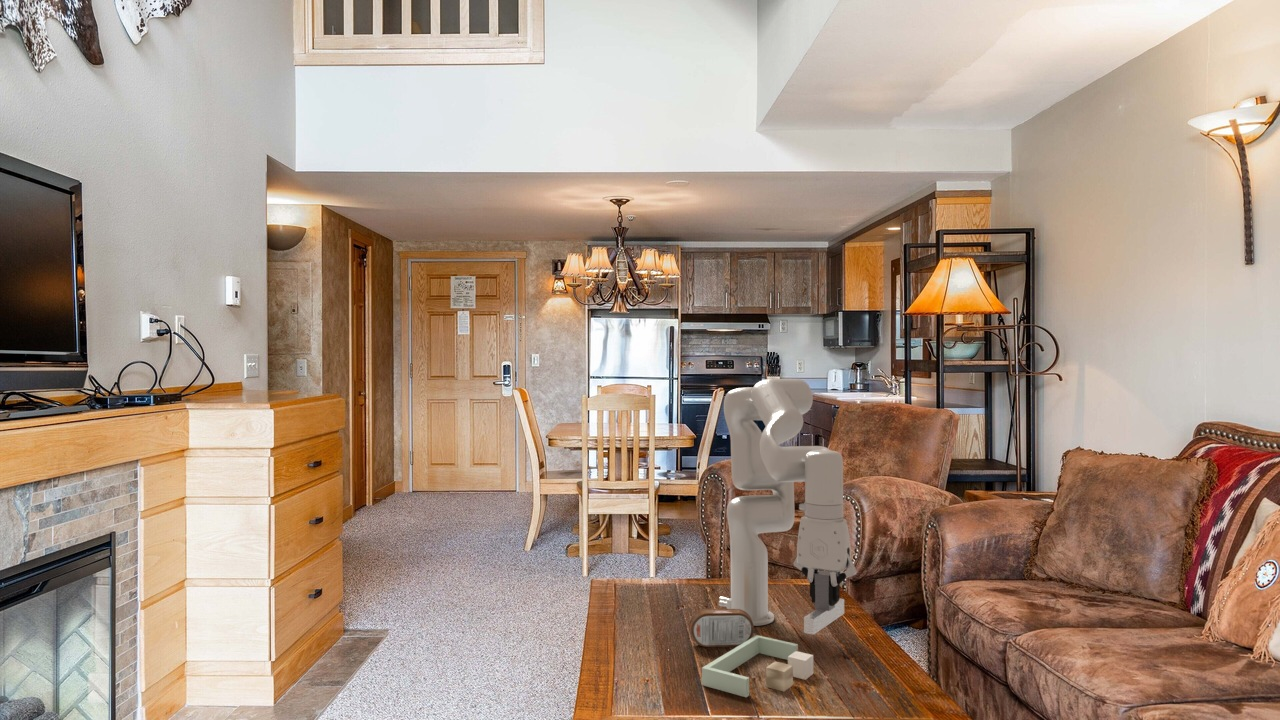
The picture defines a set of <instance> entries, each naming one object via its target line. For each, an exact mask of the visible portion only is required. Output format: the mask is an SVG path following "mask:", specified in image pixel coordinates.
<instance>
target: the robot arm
mask: <svg viewBox="0 0 1280 720" xmlns="http://www.w3.org/2000/svg"><path fill="white" fill-rule="evenodd" d="M813 398H814V397H813V391H812V389H811V387H810V386H809V384H808V383H807V382H806V381H804V380H802V379H800V378H767V379H763V380H759V381H758V382H756V383H755V384H754V386H753V387H752V386H751V387H749V386H747V387H738V388H737V387H736V388H734V389H731V390H729V391H728V392H727V393H726V394H725V396H724V401H723V414H724V420H725V423H726V425H727V429H728V433H729V438H730V459H731V460H730V462H731V463H730V465H731V479H732V484H733V486H734V487H735V488H736V489H738V490H741V491H772V494H764V495H763V494H762V495H761V494H758V495H754V494H753V495H741V496H736V497H734V498H733V499H731V500H729V502H728V504H727V507H726V519H727V524H728V532H729V542H730V543H729V545H730V547H729V548H730V598H729V597H726V596H719V599H718V606H719V607H725V609H741V610H743V611H745V612H747V613H748V614H749V616H750V617H751V619H752V622H753V625H754V627H759V626H761V627H762V626H767V625H769V624H771V623H773V622H774V619H775V614H774V613H773V612H772V611H770V610H769V594H768V593H769V576H768V575H769V569H768V566H769V564H768V563H769V561H768V559H769V558H768V557H769V556H768V555H769V554H768V549H767V546H766V545H765V544H764V542H763V541H762V539H761V538H760V537H759V534H765V533H779V532H780V533H782V532H787V531H789V530H791V529H792V528H793V526H794V523H795V515H796V513H795V483H801V482H802V483H803V482H804V500H805V501H804V502H803V503H799V504H798V509H799V511H802V512H804V516H801V517H800V521H799V527H798V535H797V544H796V546H797V547H796V558H795V559H794V562H793V566H794V567H795V568H796V569H798V570H799V571H801V572H802V575H804V577H806V579H807V582H808V583H809V596H810V598H811V603H812V604H815V573H817V572H819V571H827V572H830V577H831V585H830V586H829V605H830V606H834V605H835V604H837V603H838V601H839V599H840V594H841V592H840V589H841V588H840V584H841V583H843V581H845V580H846V579H848V578H850V577H851V578H852V577H853V576H855V575H857V573H858V571H857V568H856V566H855V565H854V562H853V560H852V548H851V539H850V537H851V536H850V531H849V525H848V521H847V519H846V518H844V460H843V459H844V458H843V456H842V454H841V453H840V452H839V451H836V450H831V449H830V448H829V447H826V446H822V445H821V446H820V445H798V446H797V445H793V446H791V445H790V446H780V445H781V444H783V443H785V442H787V441H789V440H792V439H793V438H795V437H796V436H797V435H798V434H799V433H800V432H801V431H802V428H803V427H804V426H803V425H804V418H803V415H804V414H806V413H808V412H809V411H810V409H811V408H812V405H813V403H814V402H813V401H814V399H813ZM755 421H762V422H763V424H764V426H765V427H764V429H763V430H761V429H760V428H759V426H758V424H757V423H756V422H755ZM845 569H846V570H845ZM844 570H845V571H844Z"/></svg>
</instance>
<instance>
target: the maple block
mask: <svg viewBox="0 0 1280 720" xmlns="http://www.w3.org/2000/svg"><path fill="white" fill-rule="evenodd" d="M765 670H766V671H765V678H766V679H765V686H766V688H769V689H773V690H777V691H781V692H786V691H787V690H788V689H790V688H791V687H792V686H793V685H794V678H793V666H792V665H788V663H787V664H786V663H783V662H779V661H775V660H774V661H773V662H772V663H771V664H768V665H767V666H766V668H765Z"/></svg>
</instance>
